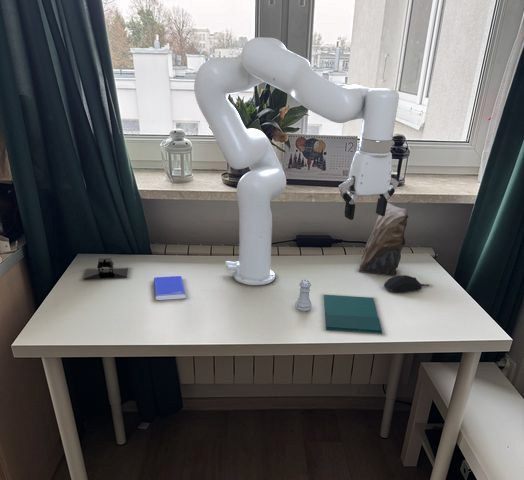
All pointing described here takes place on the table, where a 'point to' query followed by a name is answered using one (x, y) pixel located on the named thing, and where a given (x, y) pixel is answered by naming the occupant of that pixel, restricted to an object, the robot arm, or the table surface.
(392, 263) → the brown faceted tall stone
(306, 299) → the rook chess piece
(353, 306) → the flat rectangular slab
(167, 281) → the hard drive
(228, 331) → the table surface
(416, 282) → the gaming mouse
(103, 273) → the build plate
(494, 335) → the table surface
